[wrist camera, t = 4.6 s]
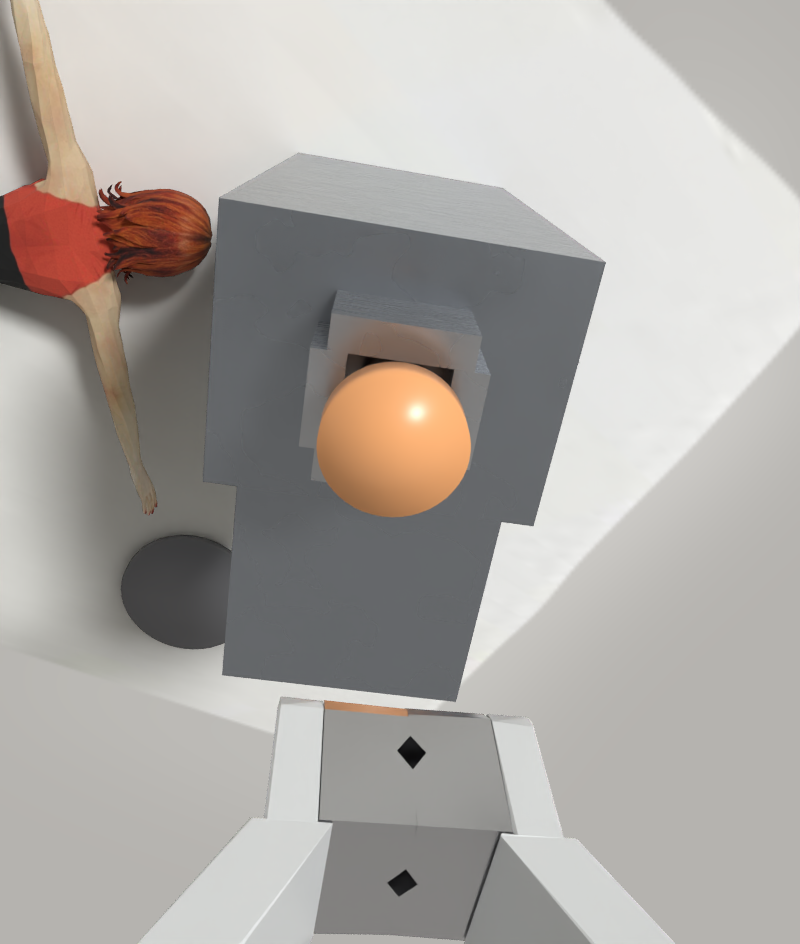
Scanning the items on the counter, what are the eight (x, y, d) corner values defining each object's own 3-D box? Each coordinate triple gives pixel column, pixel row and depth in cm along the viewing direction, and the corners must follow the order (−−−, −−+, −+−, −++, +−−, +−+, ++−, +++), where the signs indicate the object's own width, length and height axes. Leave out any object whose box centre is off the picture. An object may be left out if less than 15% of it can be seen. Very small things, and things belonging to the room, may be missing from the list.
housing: (270, 442, 43) (173, 727, 23) (298, 152, 36) (196, 210, 17) (445, 466, 44) (493, 761, 24) (503, 188, 37) (633, 283, 18)
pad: (123, 635, 48) (120, 641, 48) (124, 527, 45) (121, 532, 44) (250, 649, 49) (248, 656, 49) (260, 544, 46) (258, 549, 45)
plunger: (322, 431, 21) (308, 506, 17) (337, 312, 20) (326, 364, 16) (441, 448, 22) (454, 526, 18) (465, 332, 20) (485, 388, 16)
